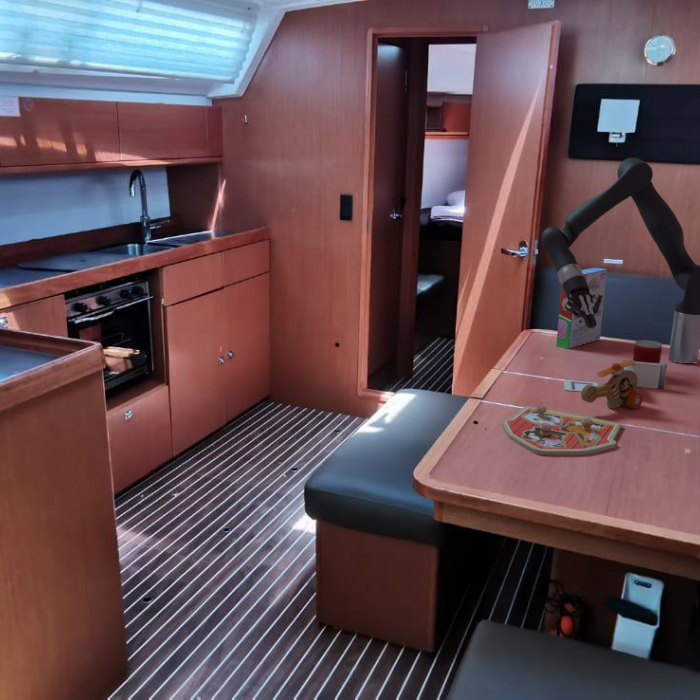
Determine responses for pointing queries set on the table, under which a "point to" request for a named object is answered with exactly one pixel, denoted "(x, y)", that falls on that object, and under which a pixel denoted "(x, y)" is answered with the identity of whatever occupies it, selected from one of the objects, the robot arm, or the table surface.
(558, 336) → the game box
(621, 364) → the toy helicopter
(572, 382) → the card
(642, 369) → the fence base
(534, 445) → the knob puzzle
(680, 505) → the table surface
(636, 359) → the canned food
